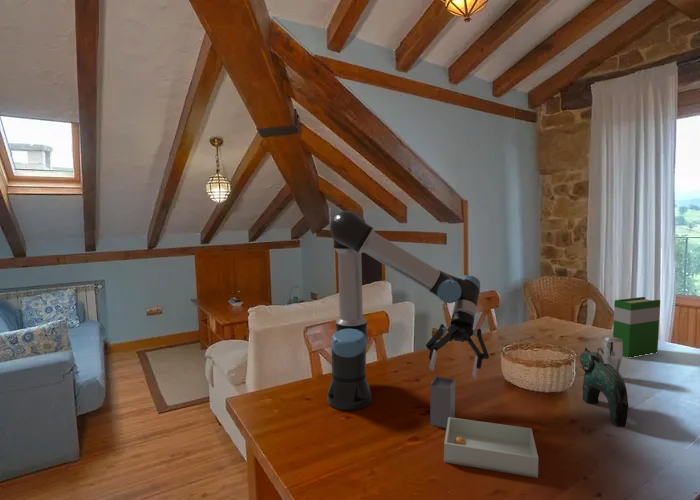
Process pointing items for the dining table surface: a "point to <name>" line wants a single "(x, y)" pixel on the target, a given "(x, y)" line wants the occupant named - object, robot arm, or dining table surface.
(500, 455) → the tray
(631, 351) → the hardback book
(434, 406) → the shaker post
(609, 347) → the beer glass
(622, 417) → the teal animal figurine
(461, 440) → the ball
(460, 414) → the dining table surface
